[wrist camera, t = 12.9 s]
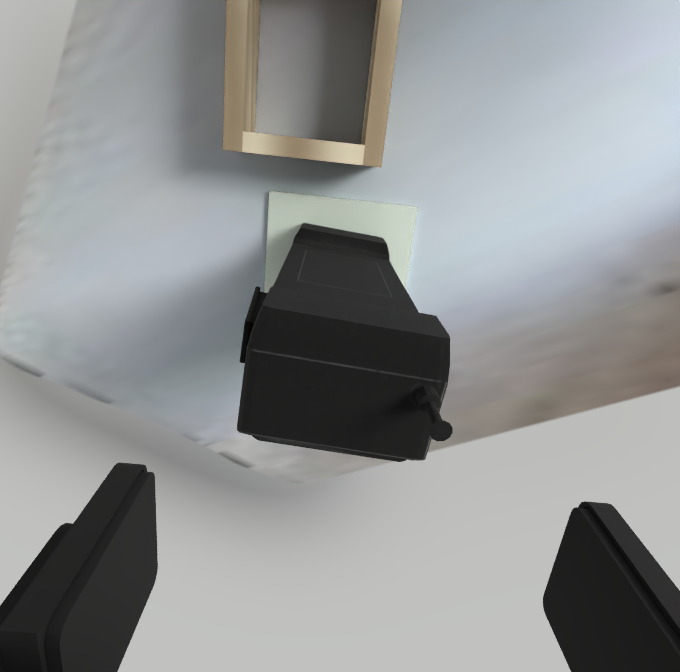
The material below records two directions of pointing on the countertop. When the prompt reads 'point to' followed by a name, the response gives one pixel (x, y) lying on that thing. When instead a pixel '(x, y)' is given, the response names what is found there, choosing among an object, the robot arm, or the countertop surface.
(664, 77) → the countertop surface
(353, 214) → the rubber mat
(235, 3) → the wooden pocket
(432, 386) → the portable radio
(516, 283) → the countertop surface
